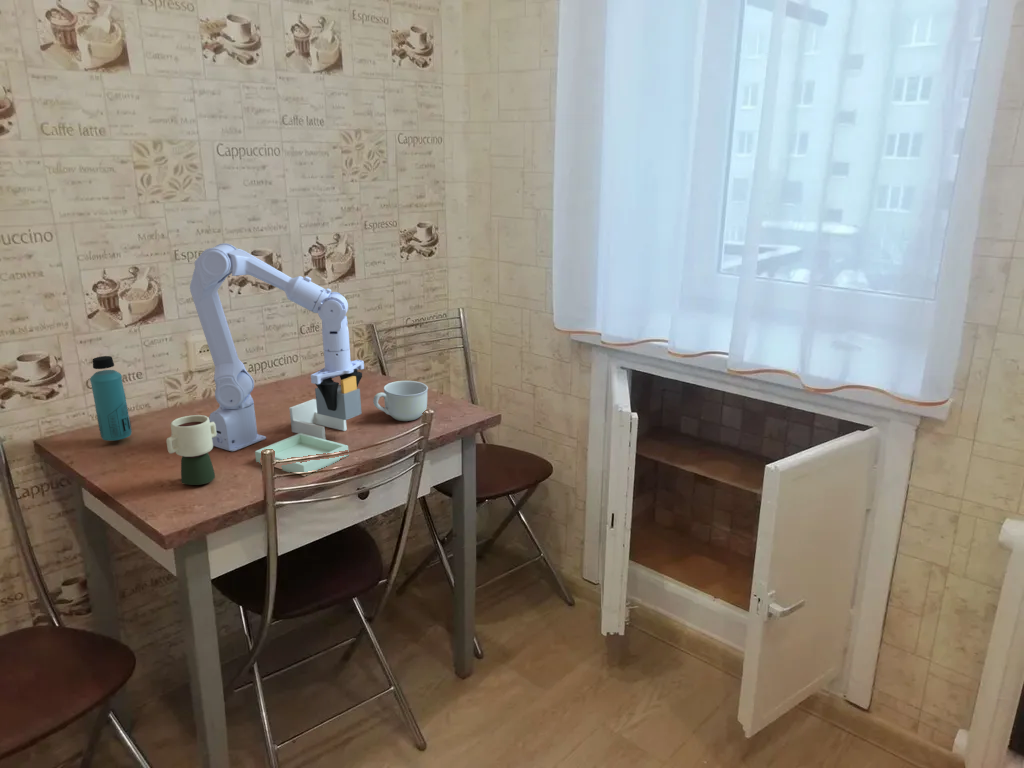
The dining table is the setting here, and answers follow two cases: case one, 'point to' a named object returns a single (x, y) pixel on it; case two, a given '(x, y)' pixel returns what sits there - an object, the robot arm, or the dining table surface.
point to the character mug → (193, 447)
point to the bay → (313, 420)
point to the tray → (304, 452)
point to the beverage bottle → (110, 401)
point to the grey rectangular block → (342, 400)
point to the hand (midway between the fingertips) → (340, 406)
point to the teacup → (403, 400)
